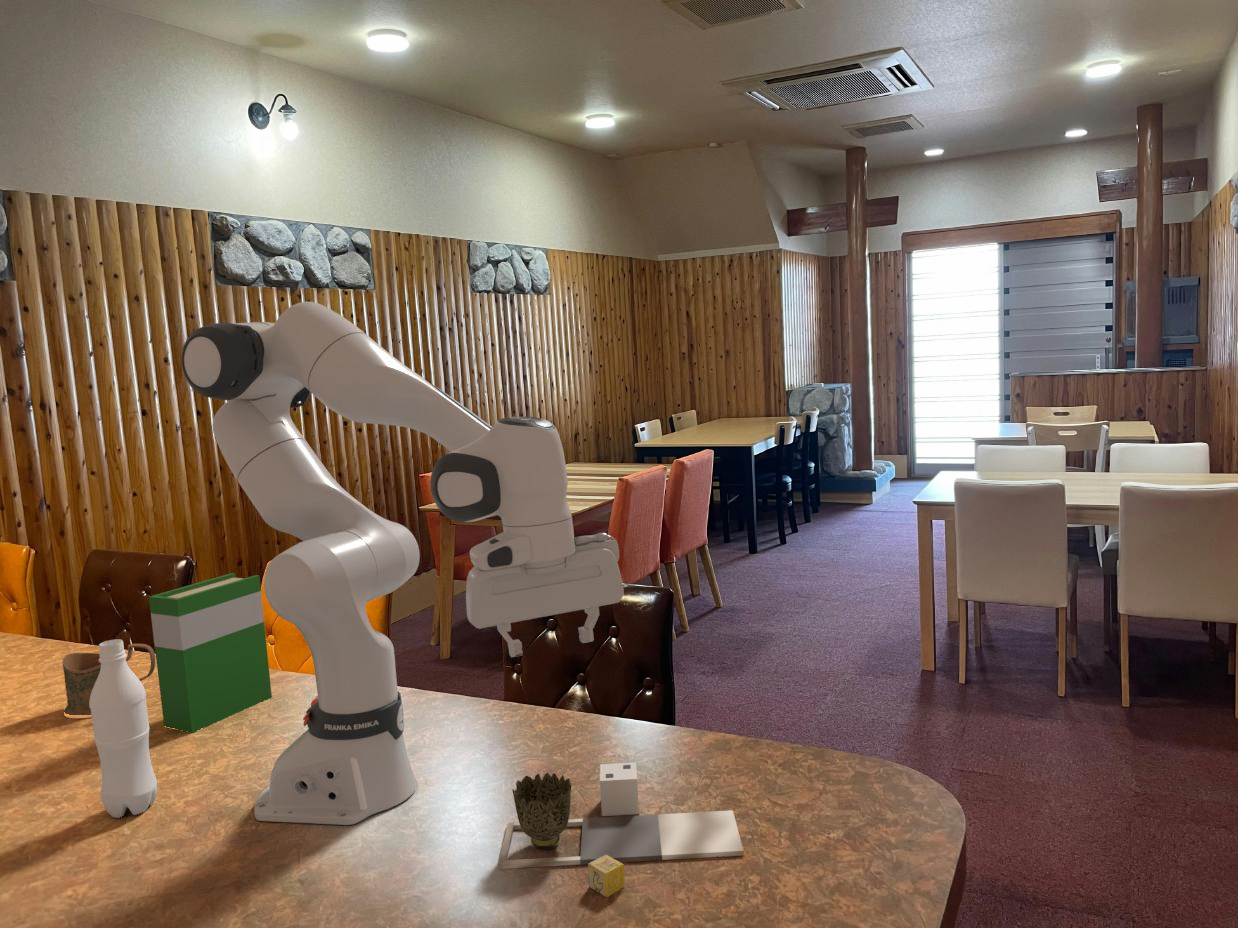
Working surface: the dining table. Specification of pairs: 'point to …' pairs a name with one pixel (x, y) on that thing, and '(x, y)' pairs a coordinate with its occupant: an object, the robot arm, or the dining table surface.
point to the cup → (543, 808)
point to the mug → (88, 677)
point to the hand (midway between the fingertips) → (551, 648)
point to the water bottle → (122, 734)
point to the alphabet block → (606, 875)
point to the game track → (643, 839)
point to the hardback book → (210, 650)
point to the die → (619, 789)
